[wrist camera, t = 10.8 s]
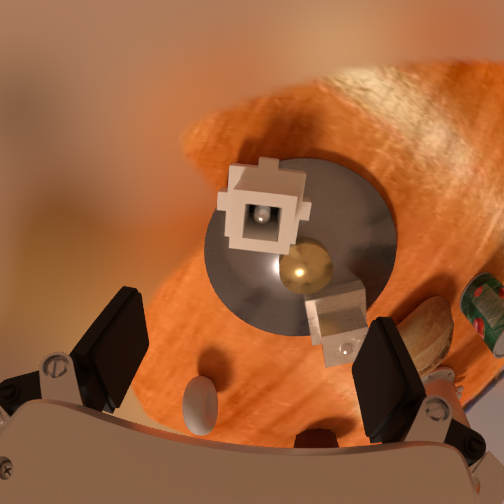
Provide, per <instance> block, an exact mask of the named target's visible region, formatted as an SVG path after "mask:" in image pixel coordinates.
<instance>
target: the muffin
mask: <svg viewBox="0 0 504 504" xmlns="http://www.w3.org/2000/svg"><path fill="white" fill-rule="evenodd" d="M294 448H339V445H338V442H337V439H336V436H335V433H333V432H331V430H329V429H314V430H308V431H304V432H302V433H301V434H298V435H296V439H295V443H294Z"/></svg>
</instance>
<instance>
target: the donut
mask: <svg viewBox="0 0 504 504" xmlns="http://www.w3.org/2000/svg"><path fill="white" fill-rule="evenodd" d="M182 407H183V416H184V421H185V423H186V426H187V428H188V429H189V430H190V431H191V432H192V433H194V434H196V435H206V434H208V433H209V432H210V431H212V429H213V428H214V426H215V423H216V420H217V414H218V397H217V392H216V388H215V386H214V384H213V382H212V381H211V380H210V379H208V378H207V377H205V376H198V377H195V378H193V379H192V380H191V381H190V382H189V383H188V384H187V387H186V389H185V392H184V396H183V405H182Z"/></svg>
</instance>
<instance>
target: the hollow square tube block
mask: <svg viewBox="0 0 504 504" xmlns="http://www.w3.org/2000/svg"><path fill="white" fill-rule="evenodd" d="M278 166H279V159H277V158H269V157H260V158H259V164H258V165H250V164H239V163H232V164H231V165H230V166H229V179H228V188H221V189H220V190H219V191H218V199H217V210H222V211H226V220H225V236H227V237H230V238H229V248H233V249H242V250H250V251H259V252H267V253H276V254H284V255H288V254H289V248H290V244H295V243H296V237H297V231H298V225H299V220H307V221H309V216H310V210H311V204H312V202H311V200H310V199H309V198H308V197H303V193H304V187H305V180H306V173H305V172H304V171H299V170H292V169H285V168H278ZM250 204H254V205H263V206H272V207H278V209H277V215H271V216H270V220H269V221H268V222H267V223H265V224H260V223H257V222H256V221H255V219H254V213H251V212H249V210H250Z"/></svg>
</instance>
